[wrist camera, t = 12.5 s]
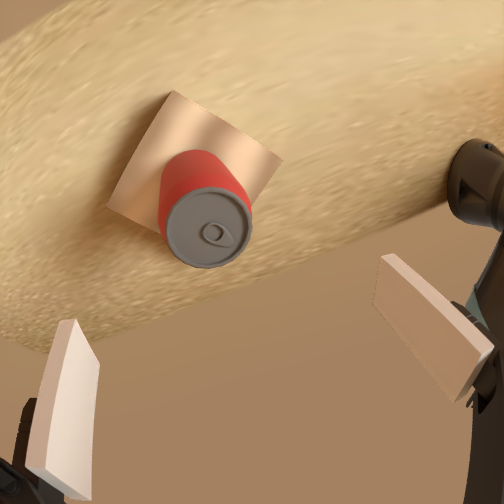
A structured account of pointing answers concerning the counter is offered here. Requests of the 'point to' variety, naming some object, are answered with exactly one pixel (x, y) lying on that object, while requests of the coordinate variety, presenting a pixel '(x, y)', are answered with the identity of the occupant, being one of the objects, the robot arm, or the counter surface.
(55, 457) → the robot arm
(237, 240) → the beer can
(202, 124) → the maple base
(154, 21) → the counter surface
